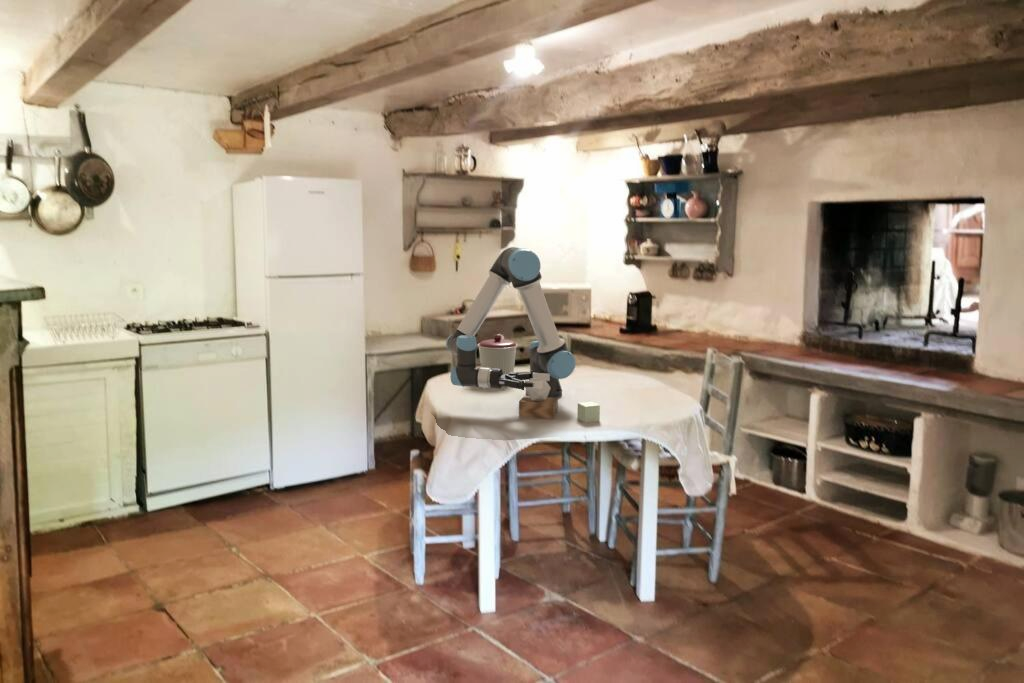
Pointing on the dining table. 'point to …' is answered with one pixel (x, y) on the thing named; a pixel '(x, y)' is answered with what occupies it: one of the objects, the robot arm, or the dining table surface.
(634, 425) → the dining table surface
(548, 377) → the robot arm
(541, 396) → the die
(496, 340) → the canister
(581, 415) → the green cube
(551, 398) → the plinth
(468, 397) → the dining table surface
